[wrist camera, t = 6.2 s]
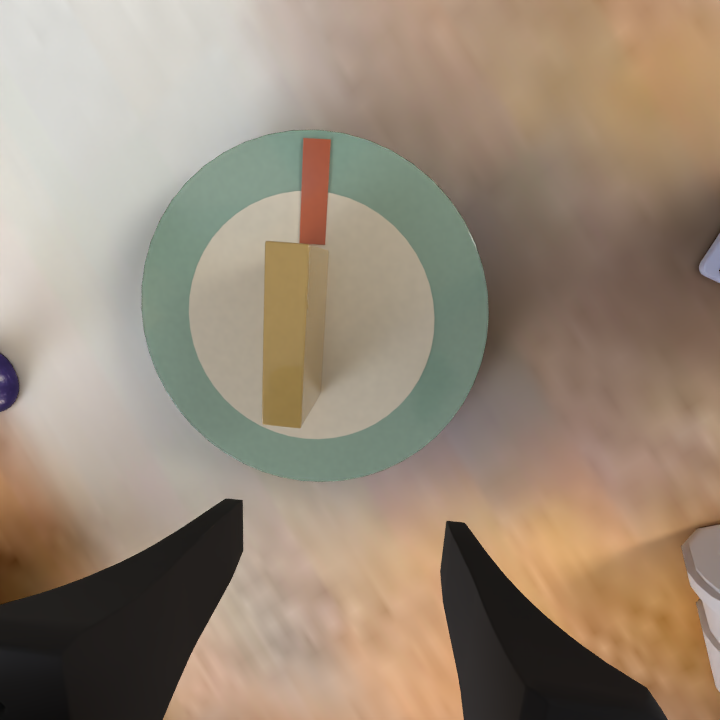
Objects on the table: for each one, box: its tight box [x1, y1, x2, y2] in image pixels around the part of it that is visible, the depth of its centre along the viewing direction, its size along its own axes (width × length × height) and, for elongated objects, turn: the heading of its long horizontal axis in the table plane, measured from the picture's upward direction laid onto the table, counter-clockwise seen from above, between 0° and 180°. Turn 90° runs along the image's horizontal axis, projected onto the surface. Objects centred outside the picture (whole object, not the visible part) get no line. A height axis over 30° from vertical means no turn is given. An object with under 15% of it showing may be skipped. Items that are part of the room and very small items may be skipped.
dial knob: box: [141, 130, 489, 482], centre depth 17 cm, size 17×17×5 cm
